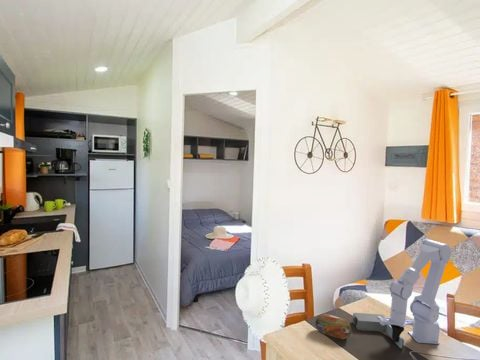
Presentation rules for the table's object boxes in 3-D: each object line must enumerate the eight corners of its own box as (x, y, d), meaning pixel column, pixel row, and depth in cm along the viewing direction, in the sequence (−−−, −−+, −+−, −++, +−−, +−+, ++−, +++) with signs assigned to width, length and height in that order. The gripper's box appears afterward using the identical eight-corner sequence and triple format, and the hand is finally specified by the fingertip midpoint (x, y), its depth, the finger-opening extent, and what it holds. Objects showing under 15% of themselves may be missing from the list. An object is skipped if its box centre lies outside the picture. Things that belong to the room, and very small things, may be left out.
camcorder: (381, 323, 140) (382, 313, 139) (388, 332, 133) (389, 321, 132) (350, 321, 140) (351, 311, 140) (355, 329, 133) (356, 319, 133)
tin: (314, 331, 131) (316, 313, 130) (316, 327, 134) (317, 310, 133) (349, 342, 124) (351, 323, 123) (350, 338, 127) (352, 319, 126)
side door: (386, 332, 132) (387, 323, 132) (389, 332, 132) (390, 323, 132) (399, 348, 121) (400, 338, 121) (403, 348, 121) (404, 338, 121)
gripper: (387, 314, 118) (384, 346, 119) (421, 315, 119) (418, 347, 120) (378, 306, 125) (375, 336, 126) (410, 307, 126) (407, 336, 127)
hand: (395, 340), depth 124 cm, fingers closed, pressing on side door
